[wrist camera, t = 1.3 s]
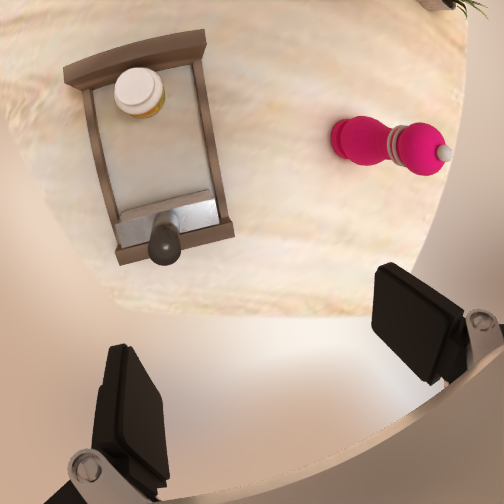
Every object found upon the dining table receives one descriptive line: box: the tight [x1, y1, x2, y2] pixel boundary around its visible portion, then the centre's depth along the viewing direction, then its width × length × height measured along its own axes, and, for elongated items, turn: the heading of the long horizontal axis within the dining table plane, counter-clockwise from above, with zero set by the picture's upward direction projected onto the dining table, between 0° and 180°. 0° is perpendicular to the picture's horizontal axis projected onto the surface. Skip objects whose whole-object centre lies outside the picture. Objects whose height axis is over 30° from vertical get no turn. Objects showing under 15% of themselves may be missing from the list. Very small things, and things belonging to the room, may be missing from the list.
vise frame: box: [63, 29, 235, 266], centre depth 30 cm, size 27×16×8 cm, turn 9°
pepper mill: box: [331, 116, 452, 176], centre depth 31 cm, size 7×7×20 cm
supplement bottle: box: [114, 68, 165, 118], centre depth 26 cm, size 5×5×10 cm
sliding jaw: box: [115, 190, 219, 266], centre depth 31 cm, size 3×12×14 cm, turn 99°
